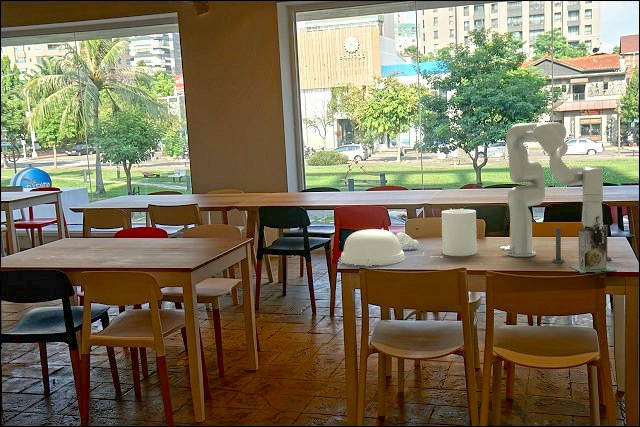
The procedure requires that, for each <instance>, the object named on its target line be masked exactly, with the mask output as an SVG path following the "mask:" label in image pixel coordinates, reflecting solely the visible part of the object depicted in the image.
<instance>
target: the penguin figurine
mask: <svg viewBox="0 0 640 427" xmlns="http://www.w3.org/2000/svg"><path fill="white" fill-rule="evenodd" d="M395 235H396V237H397V238H398V240H399V242H400V246H401V250H403V248H407V247H412V248H413V250H417V248H418V247H419V246H420V242H419V241H418V240H417V239H413V238H412V237H411V236H409V235H408V234H406V233H405V232H397V233H396V234H395Z"/></svg>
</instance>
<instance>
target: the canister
mask: <svg viewBox="0 0 640 427" xmlns="http://www.w3.org/2000/svg"><path fill="white" fill-rule="evenodd" d="M441 240H442V241H441V244H442V255H445V256H450V257H466V256H467V257H469V256H474V255H476V254H477V253H478V252H477V251H478V250H477V249H478V245H477V242H478V239H477V210H475V209H469V208H468V209H466V208H465V209H464V208H462V209H461V208H460V209H459V208H458V209H455V208H454V209H446V210H442V211H441Z"/></svg>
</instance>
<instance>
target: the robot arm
mask: <svg viewBox="0 0 640 427" xmlns="http://www.w3.org/2000/svg"><path fill="white" fill-rule="evenodd" d="M566 136H567V129H566V127H565V125H564V124H562V123H561V122H558V121H552V122H551V121H550V122H528V123H527V122H525V123H524V122H523V123H518V124H517V123H516V124H513V125H512V126H510V127H509V129H508V130H507V132H506V135H505V144H506V148H507V154H508V168H509V169H508V170H509V177H510V180H511V181H512V182H513V183H515V184H524V183H525V184H526V183H527V185H516V186H515V187H512V188H511V189H510V190H509V191H508V193H507V204H508V208H509V222H510V223H509V224H510V225H509V227H510V244H508V245H507V246H500V247H499V249H500V250H499V251H500V252H507V253H506V254H507V255H508V256H511V257H516V258H518V257H519V258H527V257H534V256H536V254H537V252H536V251H534V250H533V217H532V212H531V210H530V209H529V207H532V206H539V205H541V204H542V203H544V200H545V196H546V189H545V185H546V184H545V171H544V167H543V166H542V164H541V163H540V162H538V161H535V160H530V161H529V152H528V150H527V147H526V146H525V144H524V143H535V142H536V143H539V145H540V146H541V148H542V150H544V152H545V153H546V154H547V155H548V156H549V161H548V162H549V163H548V165H549V170H550V172H551V173H552V176H554V178H555V180H557V181H558V182H559V184H561V185H562V186H566V187H570V186H582V211H581V224H582V225H583V228H593V229H594V232H595V233H593V242H594V243H601V242H602V229H603V225H604V221H603V206H602V203H603V201H604V194H603V193H604V170H603V169H602V168H601V167H589V166H585V165H582V166H569V167H568V166H567V165H566V164H565V162H564V161H563V160H562V157H563V156H565V154H567V152H568V149H569V147H568V146H569V145H568V144H567V143H566V141H565V140H564V139H566ZM596 228H597V229H596Z"/></svg>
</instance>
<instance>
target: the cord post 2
mask: <svg viewBox="0 0 640 427" xmlns="http://www.w3.org/2000/svg"><path fill="white" fill-rule="evenodd" d="M603 229H606V262H609V261H611V260H612V257H611V256H608V224H603Z"/></svg>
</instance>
